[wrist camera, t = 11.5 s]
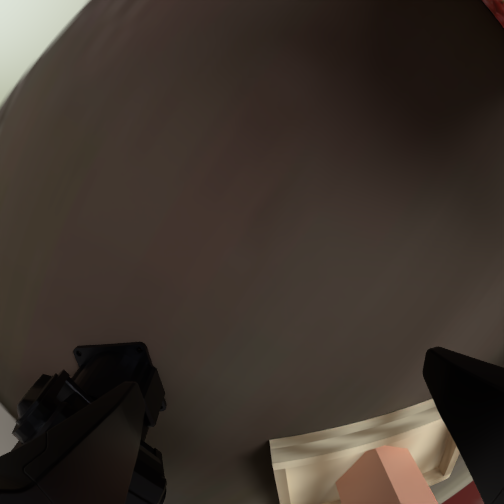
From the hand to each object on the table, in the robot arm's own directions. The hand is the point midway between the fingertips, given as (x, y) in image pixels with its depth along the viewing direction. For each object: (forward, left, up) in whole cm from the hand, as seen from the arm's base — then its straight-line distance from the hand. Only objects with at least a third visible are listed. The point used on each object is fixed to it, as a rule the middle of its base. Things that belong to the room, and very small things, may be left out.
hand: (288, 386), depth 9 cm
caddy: (+8, -23, -12) cm, 27 cm away
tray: (+9, -23, -13) cm, 28 cm away
